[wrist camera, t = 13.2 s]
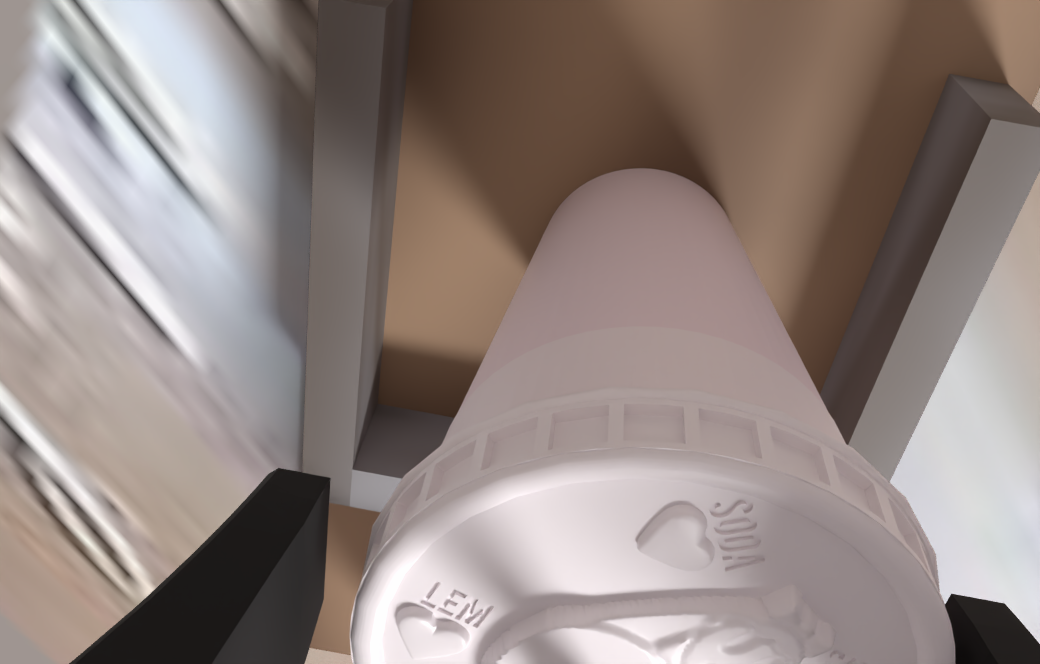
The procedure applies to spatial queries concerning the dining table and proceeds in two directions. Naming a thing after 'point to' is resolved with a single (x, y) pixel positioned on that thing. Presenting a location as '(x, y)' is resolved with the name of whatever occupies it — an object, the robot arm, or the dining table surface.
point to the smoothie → (646, 475)
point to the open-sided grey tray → (654, 145)
